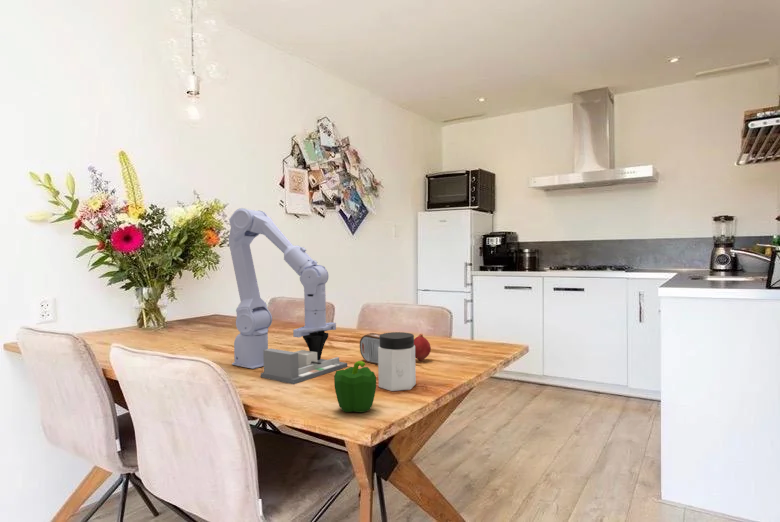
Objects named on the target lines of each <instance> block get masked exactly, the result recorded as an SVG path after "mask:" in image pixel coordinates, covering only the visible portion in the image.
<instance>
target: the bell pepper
mask: <svg viewBox="0 0 780 522" xmlns="http://www.w3.org/2000/svg"><path fill="white" fill-rule="evenodd" d="M359 367H361V368H359ZM333 380H334V390H335V394H336V395H335V396H336V400H337V404H338V405H339V406H338V407H339V408H340V409H341V411H343V412H345V413H350V412H356V413H364V412H368V411H369V410H371V408H372V406H373V405H374V400H375V396H376V390H377V389H376V388H377V377H376V374H375V372H374V371H372V370H371V369H370V368H369V367H368V366H366V362H364V361H361V360H358V361H355V362H354V364H353V366H349V367H347V368H345V369H339V370H335V373H334V377H333Z"/></svg>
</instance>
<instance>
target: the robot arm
mask: <svg viewBox="0 0 780 522" xmlns="http://www.w3.org/2000/svg"><path fill="white" fill-rule="evenodd" d="M229 225H230V229H229V235H228V245H229V246H228V247H229V250H230V256H231V260H232V266H233V271H234V275H235V280H236V284H237V289H238V290H237V291H238V295H239V300H240V302H239V304H238V306H237V307H236V309H235V312H236V318H235V327H236V329H237V330H238V332H239V333H238V334H237V335H236V336H235V339H234V342H233V348H234V350H233V352H234V353H233V356H234V359H233V360H234V362H232V363H231V365H232V366H237V367H242V368H248V369H253V370H254V369H259V368H261V367H264V354H263V350H266V349H269V334H268V333H269V328H270V327H271V325H272V323H273V316H272V313H271V311H270V310H269V309H268V308H269V307H267V305H268V304H267V303H266V302H265V301H264V300H263V298H261V294H260V289H259V284H258V279H257V275H256V270H255V265H254V260H253V255H252V250H251V247H250V246H251V244H252V242H253V241H254V240H255V238H256V237H258V236H259V235H263V236H265V237H266V238H267V239H268V240H269V241H270V242H271V243H272V244H273V245H274V246H275V247H276V248H277V249H278V250H280V251H281V253H282V254H283V260H284V262H285V263H287V265H288V266H289V267H290V268H291V269H292V270H294V272H295V273H296V274H297V275H298V276H299V281H300V284H301V285H302V286H303V292H304V293H303V298H304V300H303V301H304V304H303V305H304V325H303V326H300V327H298V328H295V329H292V332H293V336H292V337H293V338H303V340H304V342H305V343H306V345H307V347H308V351H312V352H317V360H320V359H322V354H323V351H324V347H325V344H326V341H327V340H328V338H329V333H328V331H335V330H337V323H336V322H332V321H331V322H330V321H329V322H327V312H326V310H327V308H326V307H327V305H326V304H327V303H326V302H327V301H326V300H327V298H326V283H328V280H329V272H328V270H327V269H326V267H325V266H324V265H321V264H318V261H317V260H315V259H313V258H312V257H311V256H310V255H309V254H308V253H307V249H306V248H305V246H300V245H294V244H292V242H291V241H290V240H289V239H288V237H286V235H285V234H284V233H283V232H282V230H280V228H279V227H278V226H277V224H276V223H274V220H273V219H272V218H271V217H270V216H268V214H267V213H266V212H265V211H263V210H255V209H249V208H248V209H247V208H246V207H245V208H244V207H241V208H237V209H236V210H235V211H234V212H233V213H232V214H231V216H230V217H229Z"/></svg>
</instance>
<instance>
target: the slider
mask: <svg viewBox="0 0 780 522" xmlns="http://www.w3.org/2000/svg"><path fill="white" fill-rule="evenodd" d="M295 352H297V353H298V368H302V367H305V366H309V365H312V364H321V362H317V352H312V351H309V350H306V349H301V350H296V351H295Z"/></svg>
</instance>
